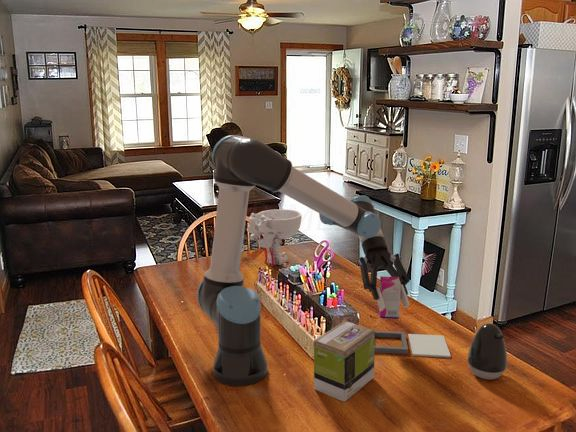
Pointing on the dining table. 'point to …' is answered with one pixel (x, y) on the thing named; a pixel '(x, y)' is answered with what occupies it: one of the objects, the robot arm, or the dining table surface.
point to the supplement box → (390, 297)
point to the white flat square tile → (428, 345)
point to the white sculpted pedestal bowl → (274, 231)
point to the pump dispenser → (488, 352)
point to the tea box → (344, 360)
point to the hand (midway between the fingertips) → (394, 307)
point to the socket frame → (392, 349)
